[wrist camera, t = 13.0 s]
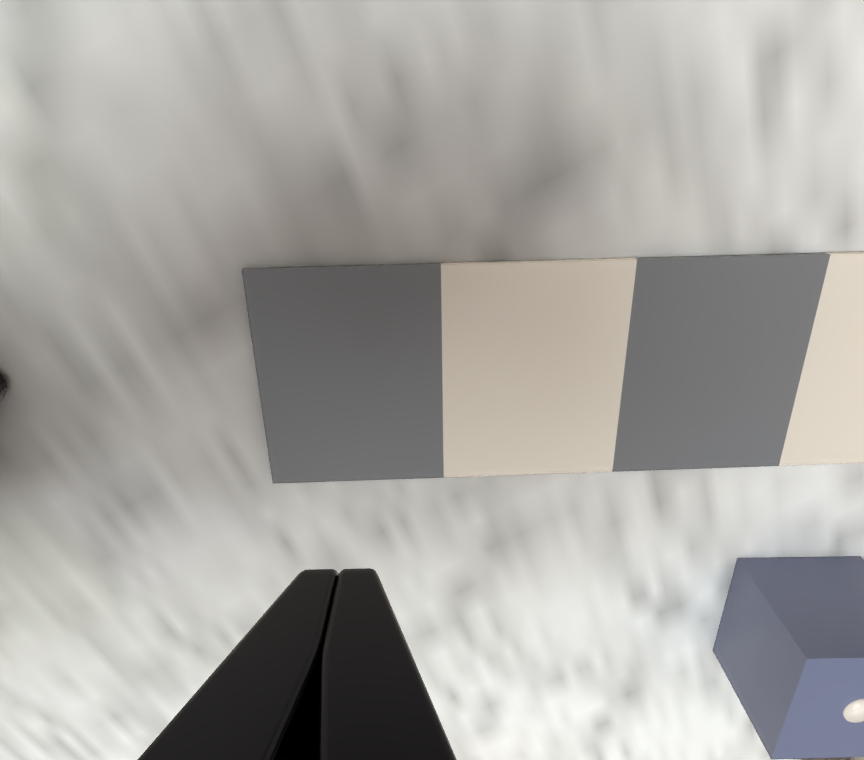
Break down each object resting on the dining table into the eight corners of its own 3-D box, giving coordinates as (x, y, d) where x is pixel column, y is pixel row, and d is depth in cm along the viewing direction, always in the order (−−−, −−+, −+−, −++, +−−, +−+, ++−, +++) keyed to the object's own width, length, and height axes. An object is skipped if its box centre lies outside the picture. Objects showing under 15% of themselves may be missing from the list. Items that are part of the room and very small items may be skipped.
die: (711, 649, 25) (771, 762, 21) (736, 556, 23) (808, 660, 19) (824, 647, 25) (907, 758, 21) (858, 554, 23) (956, 657, 19)
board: (273, 479, 21) (272, 483, 21) (243, 268, 18) (241, 270, 18) (1100, 451, 22) (1105, 454, 21) (1201, 242, 19) (1208, 244, 18)
